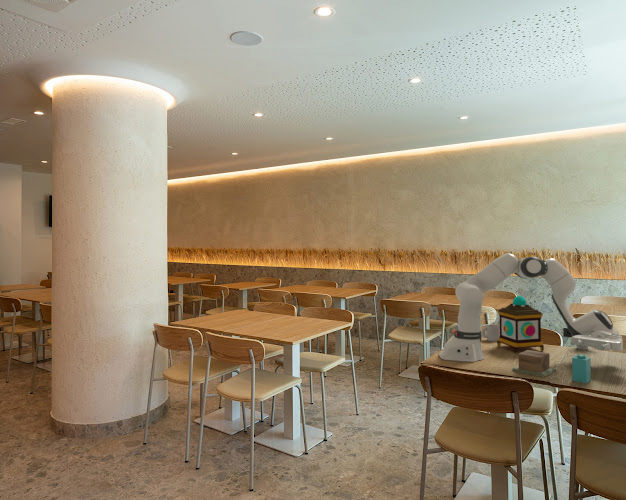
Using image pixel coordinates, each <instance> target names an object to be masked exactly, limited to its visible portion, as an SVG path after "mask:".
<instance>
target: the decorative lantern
mask: <svg viewBox="0 0 626 500" xmlns="http://www.w3.org/2000/svg"><path fill="white" fill-rule="evenodd" d="M497 313H498V316H499V338H498V340H497V342H496V344H497V347H501V344H503V345H505V346H509V347H511V348H513V349H514V352H515V354H519V353H518V352H519V349H526V348H539V350H540V352H544V350H545V346H544V343H543V342H542V338H541V337H542V333H541V332H542V327H541V325H542V323H541V321H542V319H541V318H542V317H543V315H544V314H543V313H542V312H541V311H539V310H538V309H535V308H533V307H531V306H530V305H529V304H527V300H526V299H525V298H524V297H523V296H521V295H517V296H515V297H514V298H513V299H512V303H509V305H507V306H505V307H501V308H499V309H498V310H497Z"/></svg>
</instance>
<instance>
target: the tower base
mask: <svg viewBox="0 0 626 500" xmlns="http://www.w3.org/2000/svg"><path fill="white" fill-rule="evenodd" d="M517 354H518V365H515V366H514V367H512V368H511V369H512V372H516V373H520V374H525V373H526V375H530V374H532V375H531V376H534V375H537V376H536V377H539V376H541V377H540V378H545V377H547V376H549V375H550V374H552V372H553V373H555V372H556V370H557V368H555V367H550V353H549V352H544V351H538V350H537V351H536V350H532V349H531V350H530V349H526V350H524V351H522V352H519V353H517ZM548 374H549V375H548ZM546 375H547V376H546ZM544 376H545V377H544Z"/></svg>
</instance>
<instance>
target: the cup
mask: <svg viewBox="0 0 626 500" xmlns="http://www.w3.org/2000/svg"><path fill="white" fill-rule="evenodd" d="M485 332H486V334H485ZM481 334H482V338H484V339H486V340H488V342H495V343H497V340H498V338H499V336H500V325H498V324H487V325H486V326H485V327H483V328H482V329H481Z"/></svg>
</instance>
